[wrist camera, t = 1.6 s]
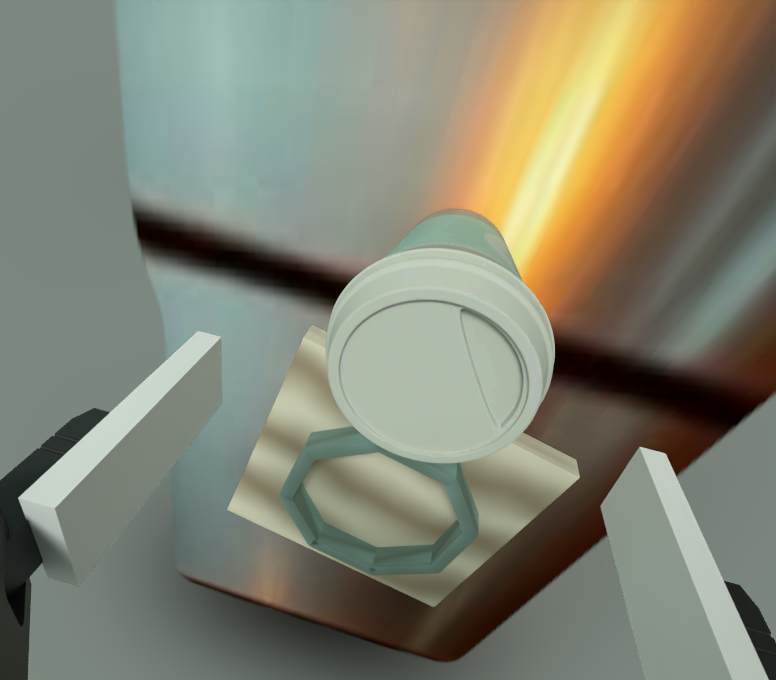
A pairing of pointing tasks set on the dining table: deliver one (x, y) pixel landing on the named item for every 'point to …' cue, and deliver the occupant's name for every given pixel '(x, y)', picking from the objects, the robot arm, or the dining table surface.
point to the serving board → (387, 490)
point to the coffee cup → (441, 344)
